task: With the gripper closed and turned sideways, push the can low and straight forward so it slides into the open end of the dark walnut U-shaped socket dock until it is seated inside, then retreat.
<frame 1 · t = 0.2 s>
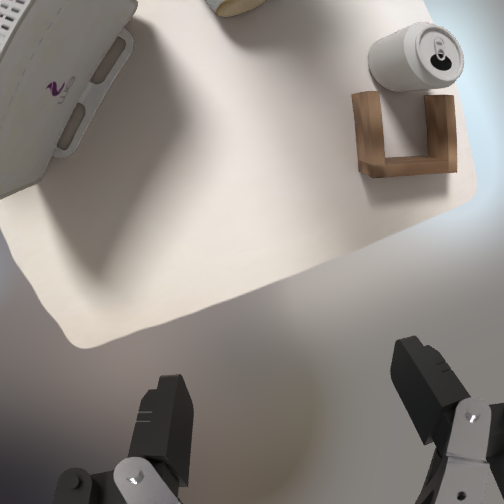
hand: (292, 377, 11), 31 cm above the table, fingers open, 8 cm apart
can: (390, 65, 34), on the table
dock: (398, 131, 37), on the table
network device: (77, 87, 33), on the table
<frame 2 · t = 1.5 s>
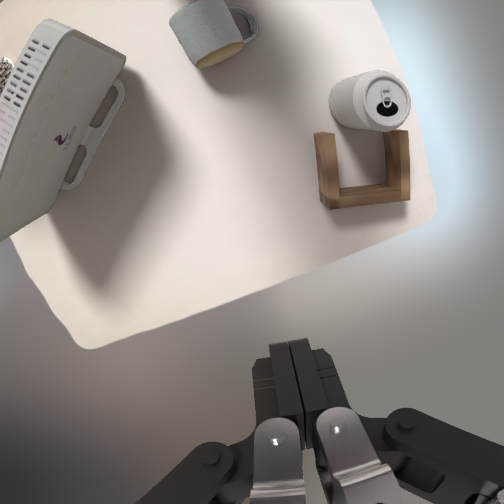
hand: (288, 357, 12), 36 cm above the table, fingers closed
can: (351, 103, 41), on the table
ceramic mug: (218, 34, 37), on the table
dock: (357, 163, 45), on the table
network device: (79, 129, 40), on the table
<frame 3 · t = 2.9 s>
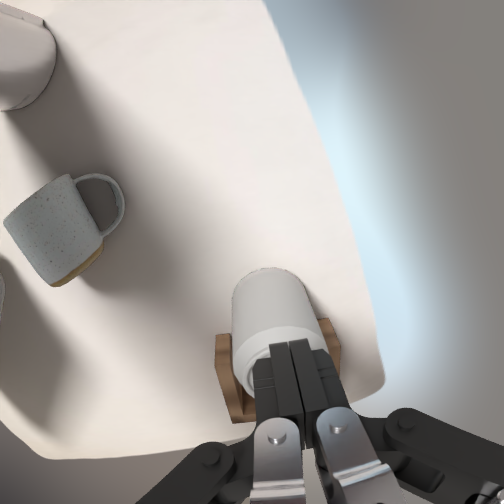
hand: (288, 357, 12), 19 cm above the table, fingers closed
can: (268, 295, 33), on the table
ceramic mug: (81, 209, 29), on the table
dock: (276, 360, 37), on the table
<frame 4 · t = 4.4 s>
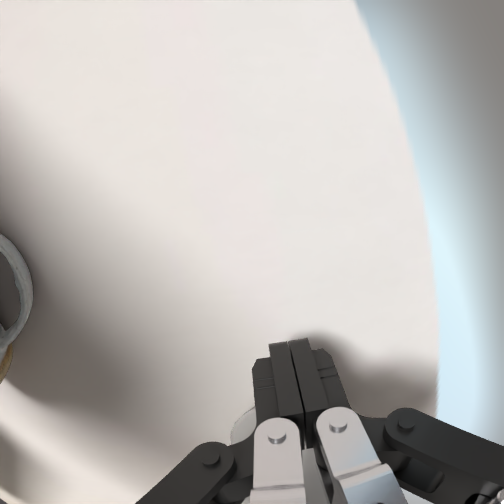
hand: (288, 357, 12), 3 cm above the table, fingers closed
can: (290, 419, 18), on the table
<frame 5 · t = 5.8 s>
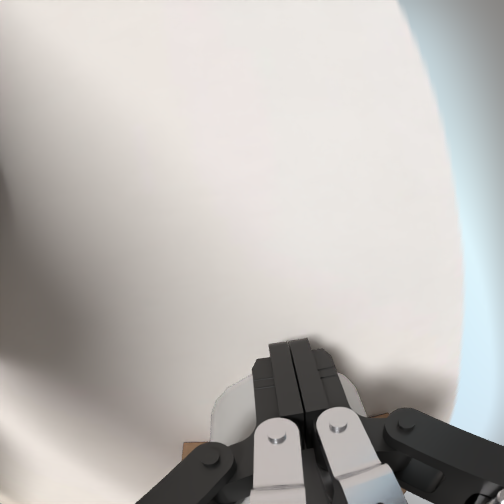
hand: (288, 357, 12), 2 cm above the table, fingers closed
can: (284, 401, 16), on the table, touching gripper
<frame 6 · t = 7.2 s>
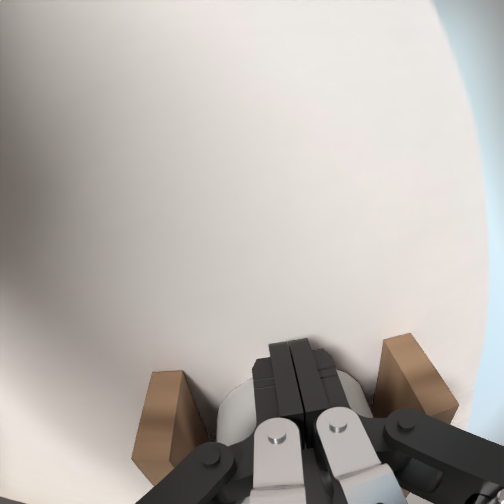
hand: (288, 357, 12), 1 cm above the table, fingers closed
can: (289, 402, 16), on the table, touching gripper
dock: (290, 422, 16), on the table
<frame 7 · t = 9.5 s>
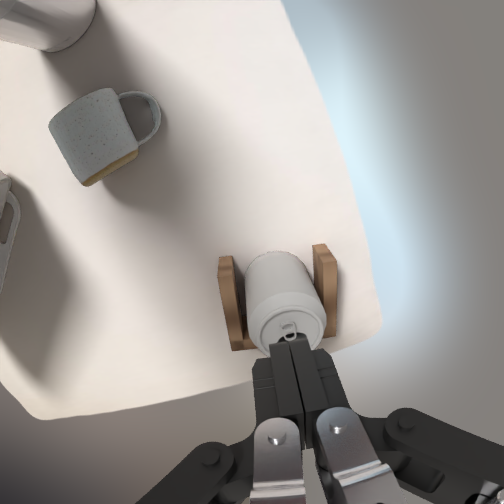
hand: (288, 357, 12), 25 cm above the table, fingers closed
can: (275, 275, 39), on the table
ceramic mug: (117, 127, 31), on the table
dock: (276, 287, 40), on the table
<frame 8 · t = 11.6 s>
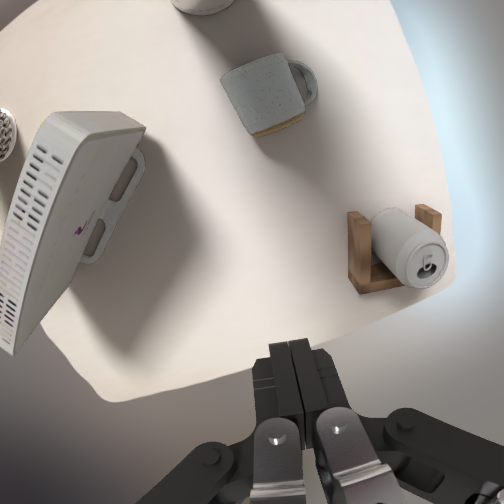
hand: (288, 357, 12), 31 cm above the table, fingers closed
can: (386, 230, 44), on the table
ceramic mug: (270, 91, 36), on the table
dock: (387, 240, 44), on the table
network device: (94, 200, 40), on the table
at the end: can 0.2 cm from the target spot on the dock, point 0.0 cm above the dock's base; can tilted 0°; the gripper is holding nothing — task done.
